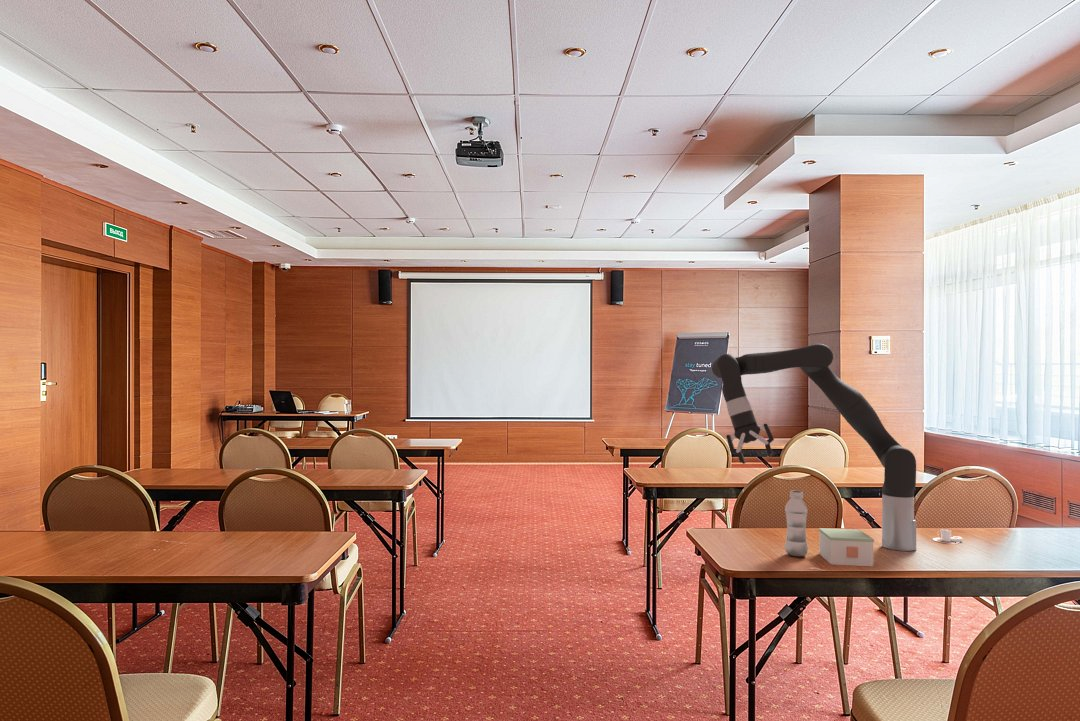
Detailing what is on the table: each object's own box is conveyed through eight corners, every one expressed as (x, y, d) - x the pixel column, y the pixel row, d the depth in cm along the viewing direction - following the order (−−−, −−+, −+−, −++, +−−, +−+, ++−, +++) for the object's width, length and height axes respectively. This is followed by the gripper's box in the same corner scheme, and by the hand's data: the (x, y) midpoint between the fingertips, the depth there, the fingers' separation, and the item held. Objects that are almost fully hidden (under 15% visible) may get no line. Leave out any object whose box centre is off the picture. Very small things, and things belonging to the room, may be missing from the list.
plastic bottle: (807, 559, 204) (807, 494, 205) (783, 557, 207) (784, 492, 208) (808, 554, 210) (808, 490, 211) (785, 552, 213) (785, 489, 213)
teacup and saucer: (962, 541, 231) (962, 529, 231) (962, 546, 224) (962, 534, 224) (933, 538, 235) (933, 526, 236) (932, 542, 229) (932, 530, 229)
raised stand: (859, 555, 210) (859, 529, 210) (874, 566, 198) (874, 539, 198) (818, 553, 212) (819, 528, 212) (831, 564, 199) (831, 537, 199)
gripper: (763, 406, 224) (779, 453, 220) (721, 419, 229) (737, 465, 225) (760, 405, 217) (777, 453, 213) (718, 418, 222) (734, 466, 218)
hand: (757, 459), depth 219 cm, fingers open, 8 cm apart
